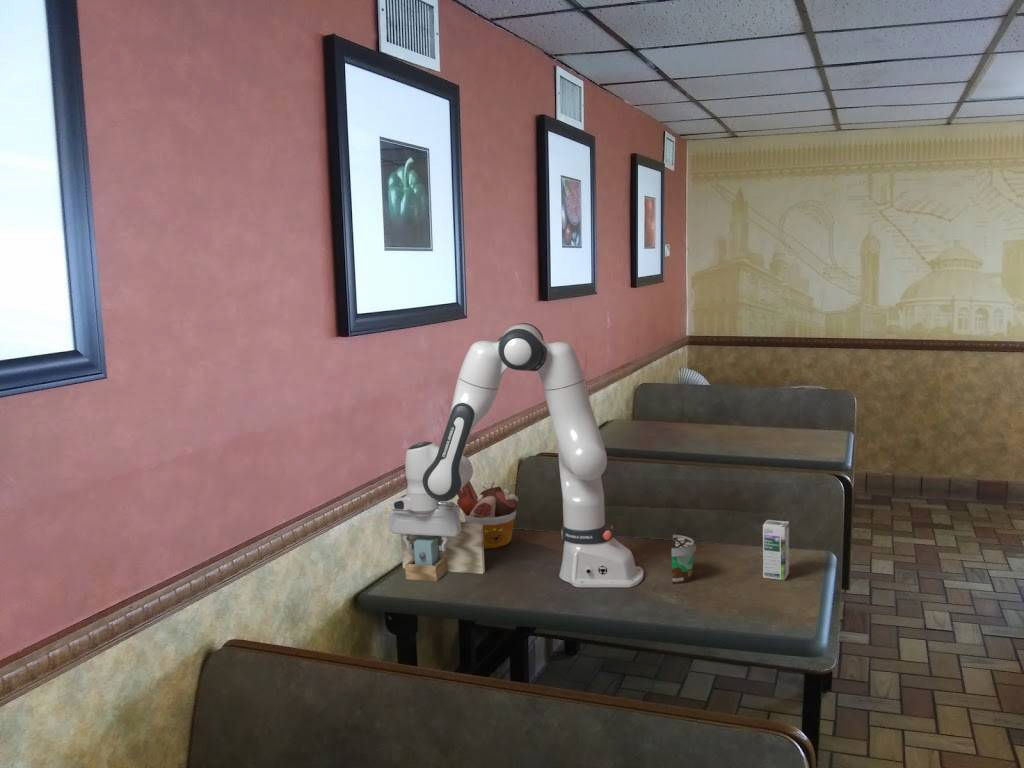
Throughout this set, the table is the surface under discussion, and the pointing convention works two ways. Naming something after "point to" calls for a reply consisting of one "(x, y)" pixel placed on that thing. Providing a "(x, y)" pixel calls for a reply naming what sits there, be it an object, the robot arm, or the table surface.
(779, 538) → the syrup box
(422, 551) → the cabinet block
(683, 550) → the food container
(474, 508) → the bucket of meat
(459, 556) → the cleat board
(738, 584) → the table surface
